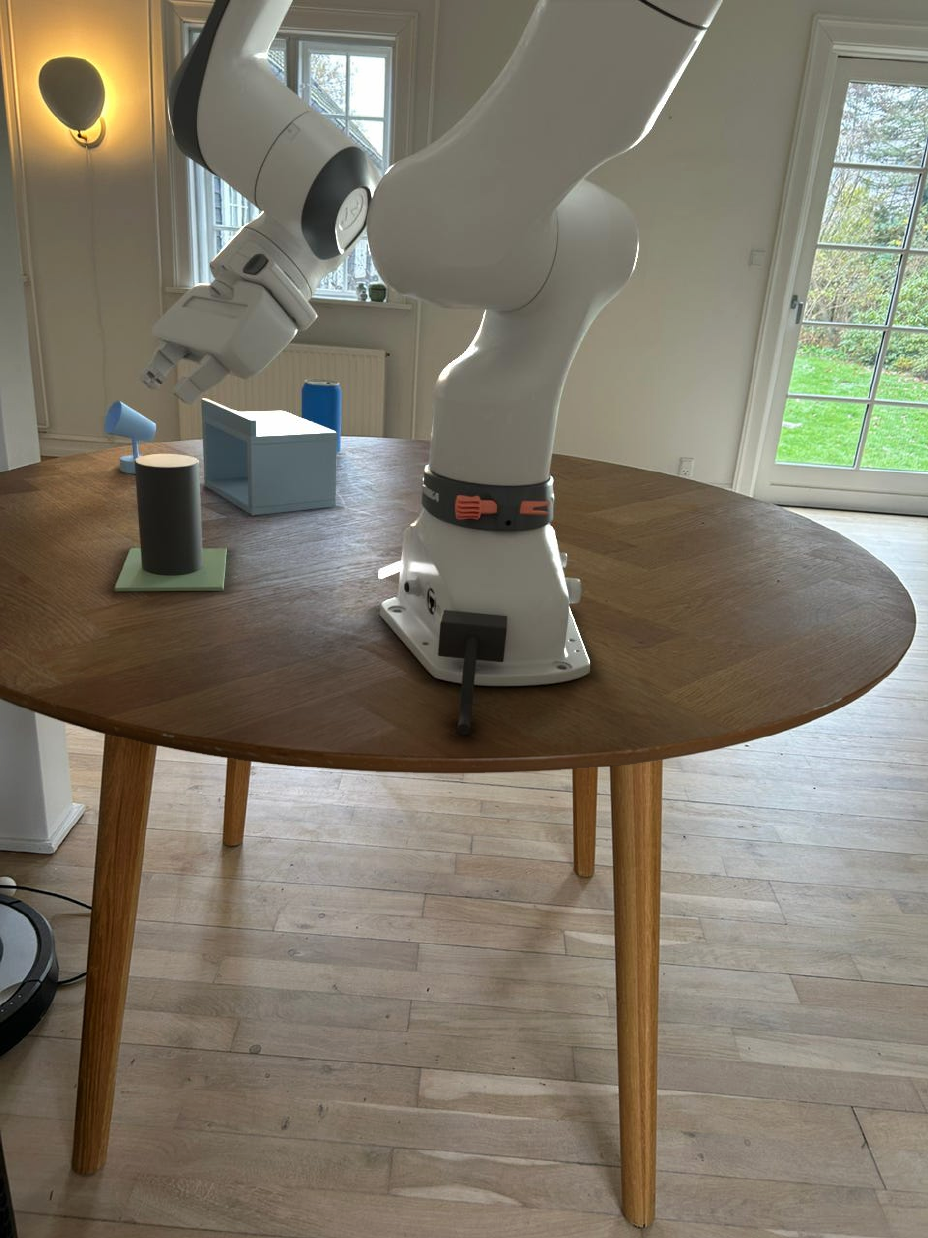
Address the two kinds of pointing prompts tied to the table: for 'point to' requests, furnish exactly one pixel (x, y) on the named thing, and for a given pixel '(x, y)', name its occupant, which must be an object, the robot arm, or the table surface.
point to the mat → (200, 580)
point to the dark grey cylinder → (169, 513)
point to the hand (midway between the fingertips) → (162, 391)
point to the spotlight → (128, 430)
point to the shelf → (268, 460)
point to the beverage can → (323, 404)
